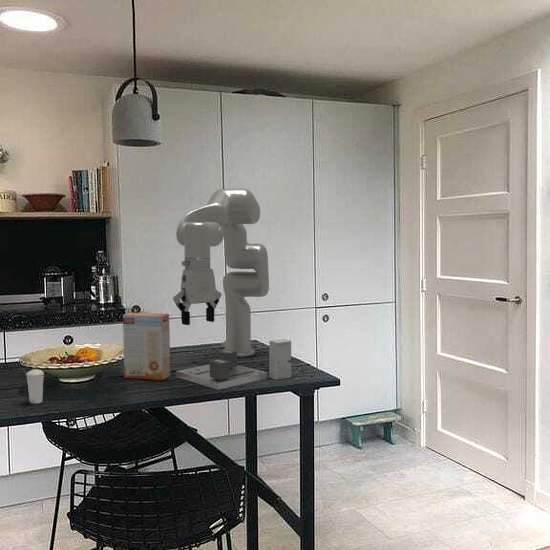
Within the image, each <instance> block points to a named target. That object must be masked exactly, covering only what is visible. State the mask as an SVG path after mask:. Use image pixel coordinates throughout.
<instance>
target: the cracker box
mask: <svg viewBox="0 0 550 550" xmlns="http://www.w3.org/2000/svg"><path fill="white" fill-rule="evenodd" d="M122 329H123V331H122V334H123V335H122V337H123V338H122V340H123V341H122V342H123V372H124V374H123V375H124V377H123V378H126V379H138V380H139V379H140V380H150V381H151V380H154V381H164V380H166V379H169V378H170V377H171V348H170V347H171V340H170V338H171V337H170V332H171V331H170V314H169V313H157V312H128V313H124V314H123V315H122Z"/></svg>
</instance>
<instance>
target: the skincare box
mask: <svg viewBox="0 0 550 550" xmlns="http://www.w3.org/2000/svg"><path fill="white" fill-rule="evenodd" d="M268 343H269V346H268V347H269V364H268V365H269V372H268V373H269V378H270V379H272V380H275V381H276V380H277V381H278V380H285V379H290V378H292V341H291V340H290V339H284V338H283V339H273V340H269V342H268Z"/></svg>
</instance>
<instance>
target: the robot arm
mask: <svg viewBox="0 0 550 550" xmlns="http://www.w3.org/2000/svg"><path fill="white" fill-rule="evenodd" d="M260 218H261V208H260V204H259V202H258V200H257V198H255V196H254V194H253V193H252V191H250V190H249V189H248V188H247V189H246V188H220V189H217V190H216V191H214V192H213V193H212V195H211V196H210V198H209V200H208V201H207V203H206V204H205V205H204V206H202V207H199V208H197V209H194V210H192V211H190V212H187V213H186V214H184V215H183V216H182V218H181V220H180V221H179V223H178V225H177V229H176V231H175V232H176V233H175V234H176V240H177V242H178V244H179V245H180V246H183V247H184V259H183V260H182V261H181V266H183V267H184V269H182V275H181V282H180V291H179V292H178V293H177V294H176V295H174V296H173V298H172V300H173V302H174V303H175V306H176V307H177V308H178V309H179V311H180V313H181V315H180V316H181V318H180V319H181V321H180V322H181V325H185V326H190V325H191V313H190V311H189V309H190V308H191V305H198V304H204V303H205V305H206V306H207V307H206V308H205V320H206V322H211V323H214V322H215V309H216V308H217V305H218V304H219V302H220V299H221V297H222V293H221V292H220V291H218V290H217V288H216V287H217V285H216V279H215V273H214V269H213V268H211V247H212V248H213V247H217V246H219V245H221V244H222V242H224V243H223V244H224V256H225V257H224V258H225V263H226V266H227V267H228V268H229V269H234V270H235V269H236V270H239V269H240V270H254V271H230V272H228V273H226V274H225V275H224V276H223V279H222V288H223V293H224V301H225V302H224V303H225V340H224V342H221V344H220V345H221V346H222V347H224V349H223V350H231V351H235V352H237V358H238V357H239V358H240V357H249V356H253V355H255V353H256V351H255V349H254V348H251V347H252V346H251V345H252V341H251V340H252V339H251V337H252V335H251V329H252V328H251V325H252V322H251V321H252V319H251V318H252V317H251V311H252V310H251V305H250V303H248V301H247V299H246V298H248V297H249V298H261V297H262V298H263V297H265V296H267V295H268V293H269V289H270V288H269V287H270V277H269V273H270V272H269V256H268V251H267V248H266V246H265V245H263V244H262V243H249V242H248V237H247V235H248V233H247V230H246V227H245V225H254V224H257V223H258V222H259V220H260ZM223 240H224V241H223Z"/></svg>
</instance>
